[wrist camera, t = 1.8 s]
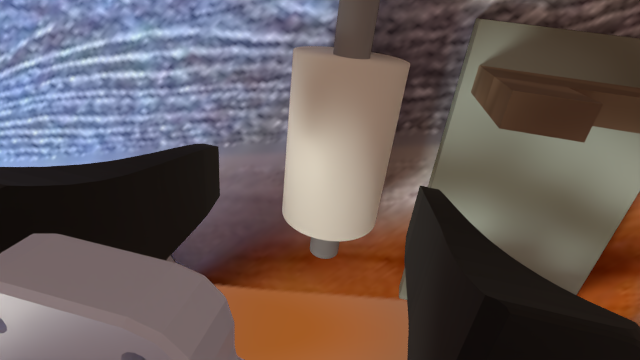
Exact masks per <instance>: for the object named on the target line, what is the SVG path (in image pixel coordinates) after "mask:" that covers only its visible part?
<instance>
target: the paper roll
mask: <svg viewBox="0 0 640 360" xmlns="http://www.w3.org/2000/svg"><path fill="white" fill-rule="evenodd" d="M379 2H380V0H340V1H339V9H338V17H337V26H336V34H335V42H334V47H325V46H302V47H296V48H294V49H293V63H292V77H291V91H290V106H289V120H288V134H287V148H286V163H285V177H284V191H283V205H282V213H283V216H284V218H285V220H286V221H287V223H288V224H289V225H290V226H291V227H293V228H294V229H295V230H297V231H299V232H300V233H302V234H305V235H307V236H310V237H311V242H310V251H311V253H312V254H313V255H315V256H316V257H319V258H324V259H328V258H332V257H334V256H336V255H337V253H338V247H339V241H349V240H354V239H358V238H360V237H363V236H365V235H366V234H368V233H369V232H370V231H371V230H372V229H373V228H374V226H375V222H376V218H377V213H378V209H379V204H380V200H381V195H382V191H383V186H384V182H385V177H386V172H387V168H388V163H389V159H390V154H391V150H392V145H393V141H394V136H395V131H396V127H397V122H398V118H399V113H400V109H401V104H402V100H403V95H404V90H405V86H406V81H407V77H408V72H409V68H410V63H409V62H407V61H405V60H403V59H400V58H397V57H393V56H389V55H385V54H380V53H375V52H371V50H372V44H373V38H374V32H375V26H376V20H377V14H378V8H379Z"/></svg>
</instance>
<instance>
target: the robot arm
mask: <svg viewBox="0 0 640 360" xmlns="http://www.w3.org/2000/svg"><path fill="white" fill-rule="evenodd" d="M219 196H220V188H219V152H218V147H217V146H212V145H207V144H193V145H187V146H182V147H177V148H173V149H168V150H164V151H159V152H155V153H150V154H145V155H140V156H135V157H130V158H125V159H120V160H114V161H107V162H99V163H91V164H82V165H67V166H51V167H0V360H244V359H242V358H240V357H238V356H237V354H236V351H235V345H234V320H233V317H232V314H231V311H230V309H229V305H228V302H227V299H226V298H225V296H224V295H223V294H222V293H221V292H220V291H219V290H218V289H217V288H216V287H215V286H214V285H213V284H212V283H211V282H210V280H209V279H208V278H207V277H206V276H204V275H202V274H200V273H198V272H195V271H193V270H191V269H189V268H187V267H185V266H183V265H180V264H177V263H173V262H169V261H166V260H167V259H168V257H169V256H170V255H171V254H172V253H173V252H174V251H175V250H176V249H177V248H178V247H179V246H180V244H181V243H182V242H183V241H184V240H185V239H186V238H187V237H188V236H189V235H190V234H191V233H192V231H193V230H194V229H195V228H196V227H197V226H198V225H199V224H200V223H201V222H202V220H203V219H204V218H205V217H206V216H207V214H208V213H209V212H210V210H211V209H212V207H213V206H214V204H215V202H216V201H217V199H218V198H219ZM405 275H406V289H407V303H408V317H409V337H408V360H640V327H639V326H638V325H637V323H636V322H633V321H631V320H629V319H627V318H624V317H622V316H620V315H618V314H616V313H613V312H611V311H609V310H607V309H604V308H602V307H600V306H598V305H595V304H593V303H591V302H589V301H587V300H585V299H583V298H581V297H579V296H577V295H575V294H573V293H571V292H569V291H567V290H565V289H563V288H561V287H560V286H558V285H556V284H554V283H552V282H551V281H549V280H547V279H545V278H544V277H542V276H540V275H539V274H537V273H535V272H534V271H532V270H531V269H529V268H527V267H526V266H524V265H523V264H521V263H520V262H518V261H517V260H515V259H514V258H512V257H511V256H510V255H508V254H507V253H506V252H504V251H503V250H502V249H500V248H499V247H498V246H496V245H495V244H494V243H493V242H491V241H490V240H489V239H488V238H487V237H486V236H484V235H483V234H482V233H481V232H480V231H479V230H478V229H477V228H476V227H475V226H474V225H472V224H471V223H470V222H469V221H468V220H467V219H466V218H465V217H464V215H463V214H462V213H461V212H460V211H459V210H458V209H457V208H456V207H455V206H454V205H453V204H452V203H451V201H450V200H449V199H448V198H447V197H446V196H445V195H444V194H443V193H442V192H441V191H440V190H439V189H434V188H429V187H424V186H420V188H419V191H418V195H417V199H416V202H415V206H414V210H413V213H412V217H411V220H410V224H409V228H408V231H407V235H406V246H405Z"/></svg>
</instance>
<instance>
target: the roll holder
mask: <svg viewBox="0 0 640 360" xmlns="http://www.w3.org/2000/svg"><path fill="white" fill-rule="evenodd" d="M428 187H429V188H434V189H439V190H440V191H441V192H442V193H443V194H444V195H445V196H446V197H447V198H448V199H449V200H450V201H451V203H452V204H453V205H454V206H455V207H456V208H457V209H458V210H459V211H460V212H461V213H462V214H463V215H464V217H465V218H466V219H467V220H468V221H469V222H470V223H471V224H472V225H474V226H475V227H476V228H477V229H478V230H479V231H480V232H481V233H482V234H483V235H484V236H486V237H487V238H488V239H489V240H490V241H491V242H493V243H494V244H495V245H496V246H498V247H499V248H500V249H502V250H503V251H504V252H506V253H507V254H508V255H510V256H511V257H512V258H514V259H515V260H517V261H518V262H520V263H521V264H523V265H524V266H526V267H527V268H529V269H531V270H532V271H534V272H535V273H537V274H539V275H540V276H542V277H544V278H545V279H547V280H549V281H551V282H552V283H554V284H556V285H558V286H560V287H561V288H563V289H565V290H567V291H569V292H571V293H573V294H575V295H577V293H578V292H579V290H580V288H581V287H582V285H583V283H584V282H585V280H586V278H587V277H588V275H589V274H590V272H591V270H592V269H593V267H594V265H595V264H596V262H597V260H598V259H599V257H600V255H601V254H602V252H603V250H604V249H605V247H606V246H607V244H608V242H609V241H610V239H611V237H612V236H613V234H614V232H615V231H616V229H617V227H618V226H619V224H620V223H621V221H622V219H623V218H624V216H625V214H626V213H627V211H628V209H629V208H630V206H631V204H632V203H633V201H634V199H635V198H636V196H637V195H638V193H639V191H640V38H632V37H623V36H615V35H607V34H599V33H591V32H583V31H575V30H567V29H559V28H550V27H542V26H534V25H526V24H518V23H510V22H502V21H494V20H486V19H477V18H476V21H475V24H474V28H473V31H472V35H471V38H470V42H469V45H468V49H467V52H466V56H465V59H464V63H463V66H462V70H461V73H460V77H459V80H458V84H457V87H456V91H455V94H454V98H453V101H452V105H451V108H450V112H449V115H448V119H447V122H446V126H445V129H444V133H443V136H442V140H441V143H440V147H439V150H438V154H437V157H436V160H435V164H434V167H433V171H432V174H431V178H430V181H429V185H428ZM399 298H401V299H405V300H407V289H406V275H405V269H404V272H403V276H402V279H401V283H400V286H399Z"/></svg>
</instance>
